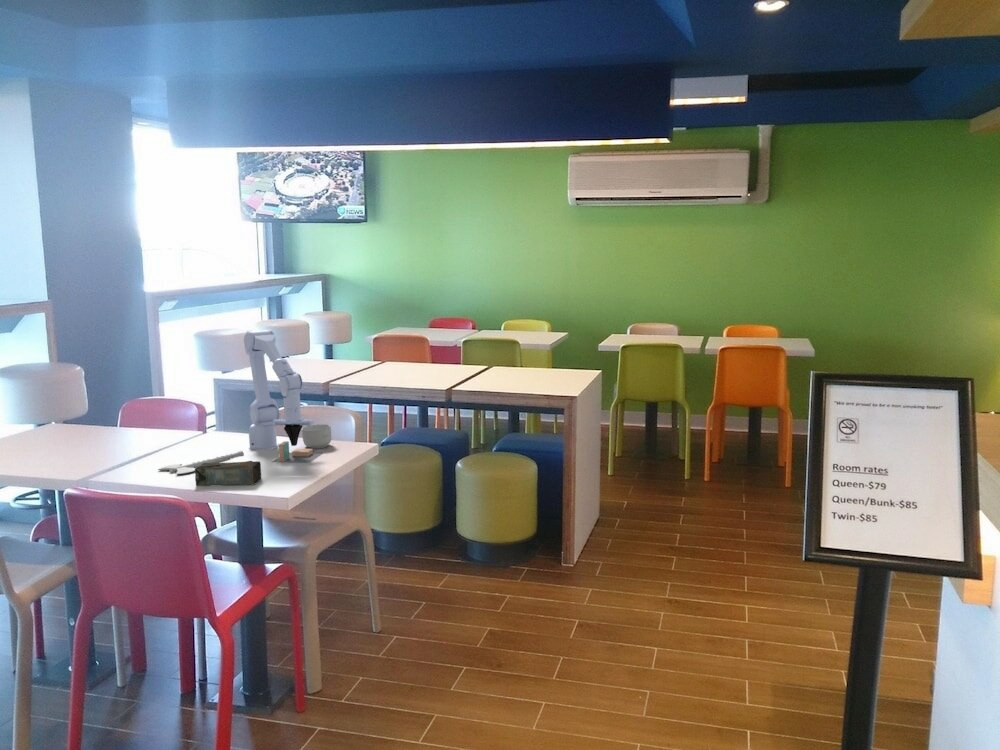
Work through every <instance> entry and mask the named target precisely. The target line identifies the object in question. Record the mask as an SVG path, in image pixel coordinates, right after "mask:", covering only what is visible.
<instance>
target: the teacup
mask: <svg viewBox="0 0 1000 750" xmlns="http://www.w3.org/2000/svg"><path fill="white" fill-rule="evenodd" d="M301 436H302V441H303V444H304V446H305V447H307V448H308V449H324V448H326V447H328V446H329V444H330V443H331V442H332V426H331V424H328V423H321V424H320V423H315V424H314V425H312V426H302V429H301Z"/></svg>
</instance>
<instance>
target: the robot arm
mask: <svg viewBox="0 0 1000 750" xmlns="http://www.w3.org/2000/svg"><path fill="white" fill-rule="evenodd" d="M243 344H244V349H245V354H246V355H248V356H249V364H250V369H251V376H252V381H253V389H254V394H255V399H254V401H253V402H252V403H250V405H249V418H250V422H251V423H252V424H251V425H250V426H249V428H248V440H249V442H248V443H249V447H248V449H249V450H250V449H251V450H252V449H253V450H274V449H276V448H278V447H279V444H280V443H277V442H278V441H277V428H276V426H284V428H283V430H284V431H285V432H286V434H287V437H288V440H289V442H290V445H291V446H292V447H296V446H297V445H298V440H299V436H300V433H301V432H302V430H301V429H302V428H303V427H306V426H312V425H315V424H314V419H307V418H302V415H301V413H302V412H301V410H302V409H301V393H300V390H301V389H302V387H303V379H302V376H301V374H300V373H297V372H296V371H294V370H293V368H292V367H291V365H290V363H289V362H288V360H287V359H285V358H283V357H282V356H281V353H280V352H279V350H278V348H277V346H276V336H275V332H274V331H273V330H272V329H266V330H264V329H263V330H254V331H253V330H251V331H246V333H245V335H244V337H243ZM265 354H266V356H267V357H268V358H269V359H270V361H271V362H272V369H273V371H274V373H275V375H276V376H277V378H278V380H279V382H278V384H279V388H280V391H281V396H283V397H282V399H283V414H284V418H280V417H281V411H280V408H279V407H278V406H279V405H278V402H277V400H275V399H273V398H272V397H271V395H270V394H271V393H270V389H269V383H268V376H267V370H266V364H265V358H264V356H265Z"/></svg>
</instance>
